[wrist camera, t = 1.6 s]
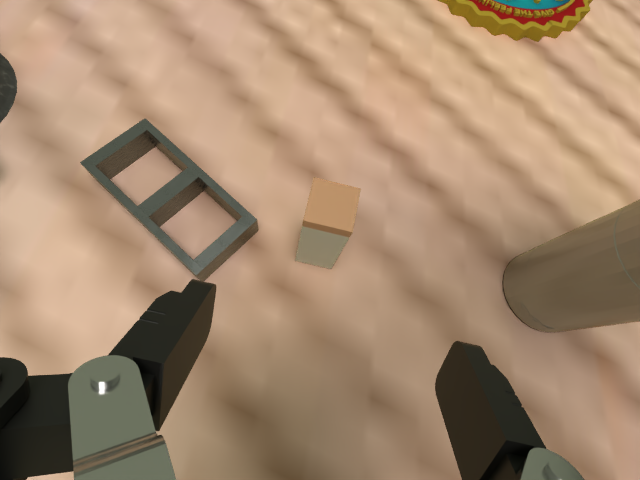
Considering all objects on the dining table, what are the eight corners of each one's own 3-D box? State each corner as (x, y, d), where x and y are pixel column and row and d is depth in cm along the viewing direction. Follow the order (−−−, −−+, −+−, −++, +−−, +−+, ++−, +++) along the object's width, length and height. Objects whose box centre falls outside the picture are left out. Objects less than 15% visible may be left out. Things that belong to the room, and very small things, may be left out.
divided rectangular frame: (153, 135, 41) (145, 118, 39) (258, 230, 39) (257, 219, 36) (93, 177, 39) (79, 162, 36) (202, 282, 36) (196, 275, 34)
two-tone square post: (303, 227, 40) (313, 177, 29) (337, 235, 40) (360, 188, 30) (294, 260, 38) (303, 220, 28) (330, 269, 39) (352, 232, 28)
